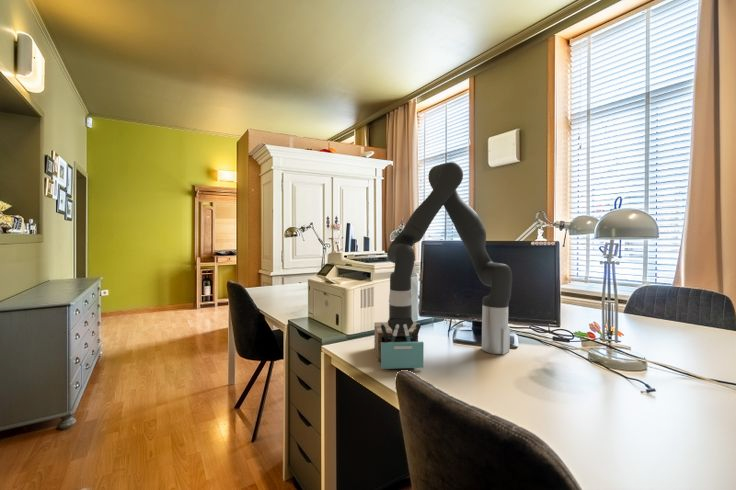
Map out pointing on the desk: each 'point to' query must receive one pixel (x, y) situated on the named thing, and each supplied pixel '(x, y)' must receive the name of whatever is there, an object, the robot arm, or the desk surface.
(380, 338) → the drawer box
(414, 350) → the teal pull-out drawer
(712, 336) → the desk surface
